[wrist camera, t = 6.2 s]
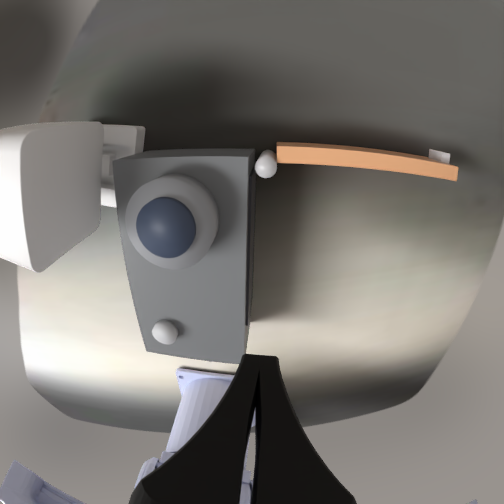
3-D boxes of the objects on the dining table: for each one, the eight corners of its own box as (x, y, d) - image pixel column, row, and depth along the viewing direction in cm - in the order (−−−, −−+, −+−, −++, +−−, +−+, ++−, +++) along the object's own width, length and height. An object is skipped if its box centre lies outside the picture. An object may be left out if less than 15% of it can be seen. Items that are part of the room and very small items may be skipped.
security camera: (68, 119, 16) (-39, 139, 7) (146, 120, 16) (33, 131, 7) (66, 197, 18) (-27, 251, 9) (138, 210, 19) (46, 284, 10)
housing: (252, 322, 22) (243, 385, 16) (165, 314, 22) (137, 369, 17) (257, 149, 16) (247, 161, 10) (147, 150, 17) (92, 167, 11)
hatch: (260, 166, 16) (255, 177, 13) (259, 131, 16) (254, 133, 12) (424, 178, 16) (456, 194, 12) (427, 148, 15) (461, 157, 11)
